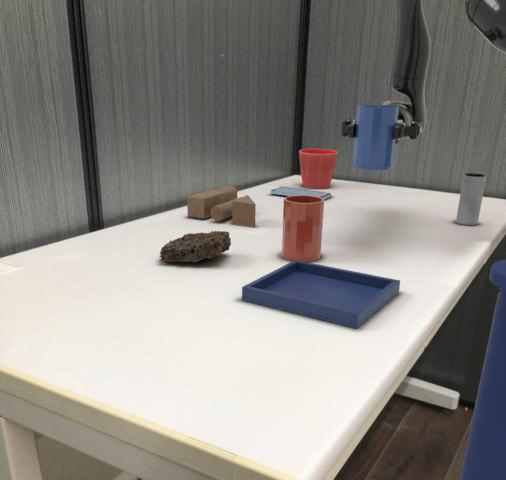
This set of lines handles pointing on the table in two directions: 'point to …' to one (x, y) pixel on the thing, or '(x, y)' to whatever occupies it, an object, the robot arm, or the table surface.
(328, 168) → the flower pot
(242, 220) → the wooden block set
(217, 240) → the dark brown rock
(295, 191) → the smartphone
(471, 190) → the grey hollow tube
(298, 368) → the table surface
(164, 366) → the table surface
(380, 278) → the blue tray
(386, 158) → the blue cup
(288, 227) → the red cup
